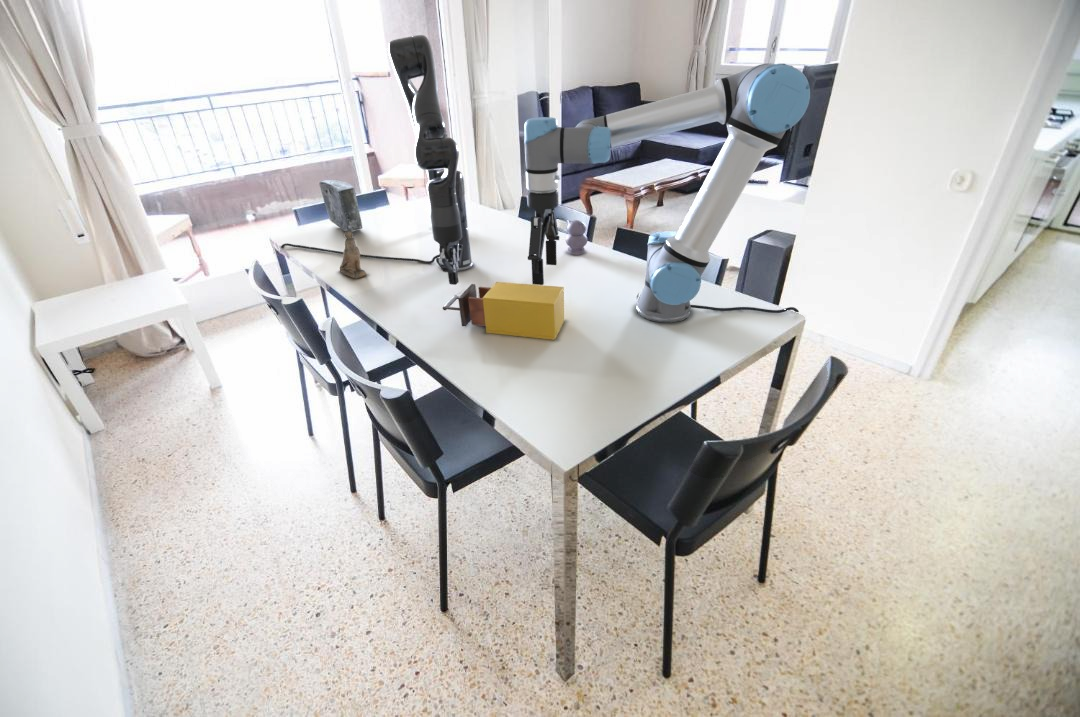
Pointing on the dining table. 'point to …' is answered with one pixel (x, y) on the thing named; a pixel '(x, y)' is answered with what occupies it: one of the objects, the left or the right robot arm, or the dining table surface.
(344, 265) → the brown carved statuette
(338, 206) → the concrete block
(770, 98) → the right robot arm
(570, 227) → the grey rounded figurine
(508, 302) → the yellow box
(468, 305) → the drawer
